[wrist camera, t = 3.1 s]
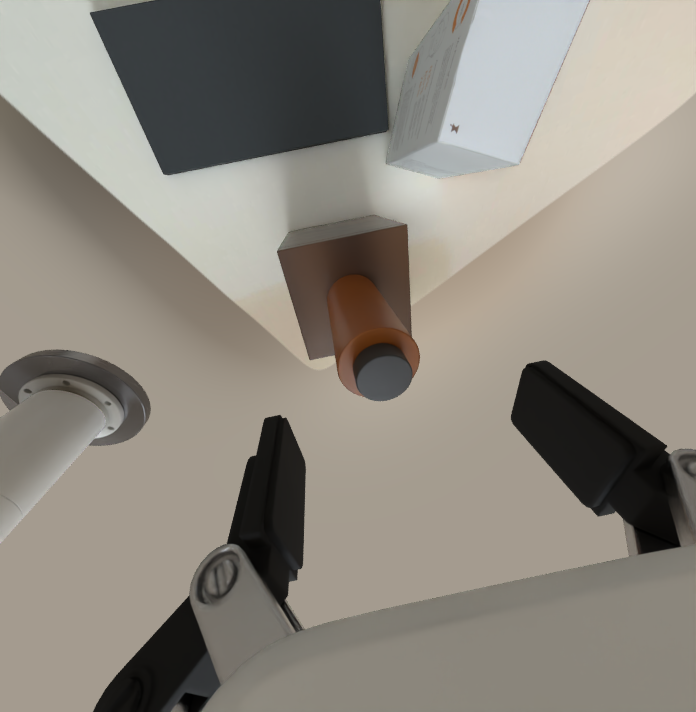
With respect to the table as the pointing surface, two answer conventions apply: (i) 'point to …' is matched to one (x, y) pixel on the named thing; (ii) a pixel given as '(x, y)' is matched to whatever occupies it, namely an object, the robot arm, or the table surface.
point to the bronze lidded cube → (344, 271)
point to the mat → (247, 75)
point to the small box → (480, 84)
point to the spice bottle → (369, 341)
